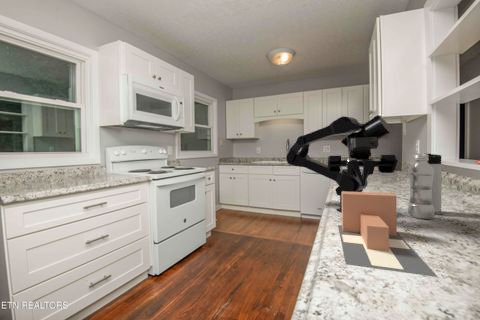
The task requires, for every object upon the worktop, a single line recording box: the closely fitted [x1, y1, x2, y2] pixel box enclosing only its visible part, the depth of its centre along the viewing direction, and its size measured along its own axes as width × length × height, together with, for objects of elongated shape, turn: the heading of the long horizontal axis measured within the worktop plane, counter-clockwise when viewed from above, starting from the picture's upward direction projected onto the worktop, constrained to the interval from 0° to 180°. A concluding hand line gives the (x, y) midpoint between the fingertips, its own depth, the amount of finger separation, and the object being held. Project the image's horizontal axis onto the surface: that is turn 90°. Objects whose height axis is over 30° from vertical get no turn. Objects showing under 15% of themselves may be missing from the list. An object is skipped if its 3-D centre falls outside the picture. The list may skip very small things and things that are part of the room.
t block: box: [341, 191, 398, 251], centre depth 54 cm, size 14×12×10 cm
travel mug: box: [427, 153, 443, 216], centre depth 76 cm, size 6×7×20 cm
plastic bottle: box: [407, 153, 435, 220], centre depth 69 cm, size 6×7×20 cm
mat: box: [337, 224, 439, 278], centre depth 50 cm, size 24×14×1 cm, turn 160°
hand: (363, 185), depth 64 cm, fingers closed
